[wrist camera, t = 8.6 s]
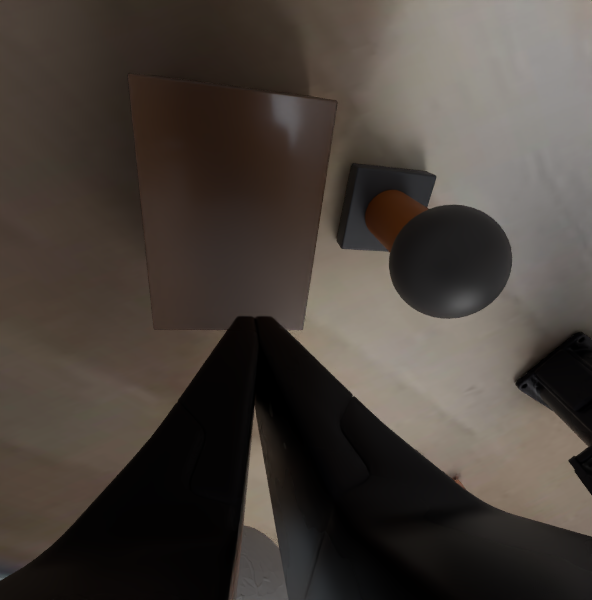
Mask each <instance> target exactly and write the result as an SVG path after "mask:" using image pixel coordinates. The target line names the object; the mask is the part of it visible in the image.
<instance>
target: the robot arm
mask: <svg viewBox="0 0 592 600" xmlns="http://www.w3.org/2000/svg"><path fill="white" fill-rule="evenodd" d="M516 386H517V387H518V388H519V389H520V390H521V391H523V392H524V393H526V394H527V395H529V396H530V397H532V398H534V399H535V400H537V401H538V402H540V403H541V404H543V405H544V406H546V407H548V408H549V409H551V410H552V411H554V412H555V413H556V414H557V415H558V416H559V417H560V418H561V419H562V420H563V421H564V422H565V423H566V424H567V425H568V426H569V427H570V428H571V429H572V430H573V431H574V432H575V433H576V434H577V435H578V437H579V438H580V439H581V440H582V441H583V442H584V443H585V444H586V445H587V446H588V448H586V449H585V450H584V451H582V452H581V453H580V454H578V455H577V456H573V457H572V458H571V459H569V460H568V461H569V462H570V464H571V465H572V466H573V468H574V469H575V470H574V471H575V473H576V474H577V476H578V477H579V478H580V480H581V481H582V483H583V484H584V485H585V487H586V488H587V489H588V491H589V492H590V494H591V495H592V340H591V339H590V338H589V337H588V336H587V335H585V334H584V333H583V332H578V333H576V334H574V335H573V336H572V337H571V338H569V339H568V340H567V341H566V342H564V343H563V344H562V345H561V346H560V347H558V348H557V349H556V350H555V351H554V352H552V353H551V354H550V355H549V356H547V357H546V358H545V359H544V360H543V361H541V362H540V363H539V364H538V365H536V366H535V367H534V368H533V369H532V370H530V371H529V372H528V373H527V374H526V375H524V376H523V377H522V378H521V379H519V380H518V381H517V383H516ZM352 396H353V395H352V393H351V392H350V391H348V390H347V389H346V388H345V387H344V386H343V385H342V384H341V383H340V382H339V381H338V380H337V379H336V378H335V377H334V376H333V375H332V374H331V373H330V372H329V371H328V370H327V369H326V368H325V367H324V366H323V365H322V364H321V363H320V362H319V361H318V360H317V359H316V358H315V357H314V356H313V355H311V354H310V353H309V352H308V351H307V350H306V349H305V348H304V347H303V346H302V345H301V344H300V343H299V342H298V341H297V340H296V339H295V338H294V337H293V336H292V335H291V334H290V333H289V332H288V331H287V330H286V329H285V328H284V327H283V326H282V325H281V324H280V323H279V322H278V321H277V320H276V319H274V318H273V317H272V316H257V317H255V318H254V317H253V316H237V317H236V318H235V320H234V321H233V323H232V324H231V326H230V327H229V328H228V330H227V331H226V333H225V334H224V336H223V337H222V338H221V340H220V341H219V343H218V344H217V346H216V347H215V348H214V350H213V351H212V353H211V354H210V356H209V357H208V358H207V360H206V361H205V363H204V364H203V366H202V367H201V368H200V370H199V371H198V373H197V374H196V376H195V377H194V378H193V380H192V381H191V383H190V384H189V386H188V387H187V388H186V390H185V391H184V393H183V394H182V396H181V397H180V398H179V400H178V403H176V404H175V405H174V407H173V408H172V410H171V411H170V412H169V414H168V415H167V417H166V418H165V419H164V421H163V422H162V423H161V425H160V426H159V427H158V429H157V430H156V431H155V433H154V434H153V435H152V437H151V438H150V439H149V440H148V441H147V442H146V444H145V445H144V446H143V447H142V448H141V449H140V451H139V452H138V453H137V454H136V455H135V456H134V457H133V459H132V460H131V461H130V462H129V463H128V464H127V465H126V466H125V468H124V469H123V470H122V471H121V472H120V473H119V474H118V475H117V476H116V477H115V479H114V480H113V481H112V482H111V483H110V484H109V485H108V486H107V487H106V488H105V490H104V491H103V492H102V493H101V494H100V495H99V496H98V497H97V498H96V500H95V501H94V502H93V503H92V504H91V505H90V506H89V507H88V508H87V509H86V511H85V512H84V513H83V514H82V515H81V516H80V517H79V518H78V519H77V520H76V522H75V523H74V524H73V525H72V526H71V527H70V528H69V529H68V530H67V531H66V532H65V533H64V534H63V535H62V536H61V537H60V538H59V539H58V540H57V541H56V542H55V543H54V544H53V545H52V546H50V547H49V548H48V549H47V550H46V551H44V552H43V553H42V554H41V555H39V556H38V557H37V558H36V559H34V560H33V561H32V562H30V563H29V564H27V565H26V566H25V567H23V568H21V569H20V570H18V571H16V572H15V573H13V574H11V575H9V576H8V577H6V578H4V579H3V580H1V581H0V600H236V596H237V586H238V575H239V565H240V554H241V544H242V533H243V523H244V512H245V502H246V492H247V481H248V471H249V460H250V450H251V439H252V429H253V418H254V406H255V410H256V417H257V422H258V428H259V434H260V440H261V446H262V451H263V457H264V463H265V469H266V474H267V480H268V486H269V492H270V497H271V503H272V509H273V515H274V520H275V526H276V532H277V538H278V543H279V549H280V555H281V561H282V566H283V572H284V578H285V584H286V590H287V595H288V600H592V537H591V536H587V535H584V534H580V533H577V532H573V531H570V530H566V529H563V528H559V527H556V526H552V525H549V524H545V523H542V522H538V521H535V520H531V519H528V518H524V517H521V516H517V515H514V514H510V513H507V512H505V511H502V510H500V509H497V508H495V507H493V506H491V505H489V504H487V503H485V502H483V501H482V500H480V499H479V498H477V497H475V496H474V495H472V494H471V493H469V492H468V491H467V490H465V489H464V488H463V487H461V486H460V485H459V484H458V483H456V482H455V481H454V480H453V479H451V478H450V477H449V476H448V475H446V474H445V473H444V472H443V471H441V470H440V469H439V468H438V467H436V466H435V465H434V464H433V463H431V462H430V461H429V460H428V459H426V458H425V457H424V456H423V455H421V454H420V453H419V452H418V451H416V450H415V449H414V448H413V447H411V446H410V445H409V444H408V443H406V442H405V441H404V440H403V439H401V438H400V437H399V436H398V435H397V434H395V433H394V432H393V431H392V430H391V429H389V428H388V427H387V426H386V425H385V424H384V423H382V422H381V421H380V420H379V419H378V418H377V417H376V416H375V415H374V414H373V413H372V412H371V411H369V410H368V409H367V408H366V407H365V406H364V405H363V404H362V403H361V402H360V401H359V400H358V399H357V398H356V397H354V396H353V397H352Z"/></svg>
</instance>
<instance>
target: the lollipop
mask: <svg viewBox="0 0 592 600" xmlns="http://www.w3.org/2000/svg"><path fill="white" fill-rule="evenodd" d="M236 600H288V595H287V590H286V584H285V578H284V572H283V566H282V561H281V555H280V549H279V548H278V547H277V545H276V544H275V543H274V542H273V541H272V540H271V539H270V538H268V537H267V536H266V535H265V534H264V533H261V532H260V531H258V530H256V529H255V528H252V527H249V526H244V525H243V533H242V544H241V554H240V565H239V575H238V586H237V596H236Z"/></svg>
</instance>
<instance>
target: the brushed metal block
mask: <svg viewBox="0 0 592 600" xmlns="http://www.w3.org/2000/svg"><path fill="white" fill-rule="evenodd" d="M128 85H129V95H130V104H131V114H132V124H133V133H134V143H135V153H136V163H137V172H138V182H139V192H140V202H141V211H142V221H143V231H144V240H145V250H146V260H147V270H148V279H149V289H150V299H151V309H152V318H153V328H154V329H155V330H228V328H229V327H230V326H231V324H232V323H233V321H234V320H235V318H236V317H237V316H253V317H254V318H255V317H257V316H272V317H273V318H274V319H276V320H277V321H278V322H279V323H280V324H281V325H282V326H283V327H284V328H285V329H286V330H303V326H304V319H305V312H306V306H307V299H308V293H309V286H310V280H311V273H312V267H313V260H314V254H315V247H316V241H317V234H318V228H319V221H320V215H321V208H322V202H323V195H324V189H325V182H326V176H327V169H328V162H329V156H330V149H331V143H332V136H333V130H334V123H335V117H336V110H337V104H338V102H337V101H336V100H331V99H325V98H319V97H313V96H306V95H299V94H291V93H283V92H276V91H268V90H261V89H253V88H246V87H238V86H231V85H223V84H216V83H208V82H201V81H193V80H186V79H178V78H171V77H163V76H156V75H145V74H134V73H128Z"/></svg>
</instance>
